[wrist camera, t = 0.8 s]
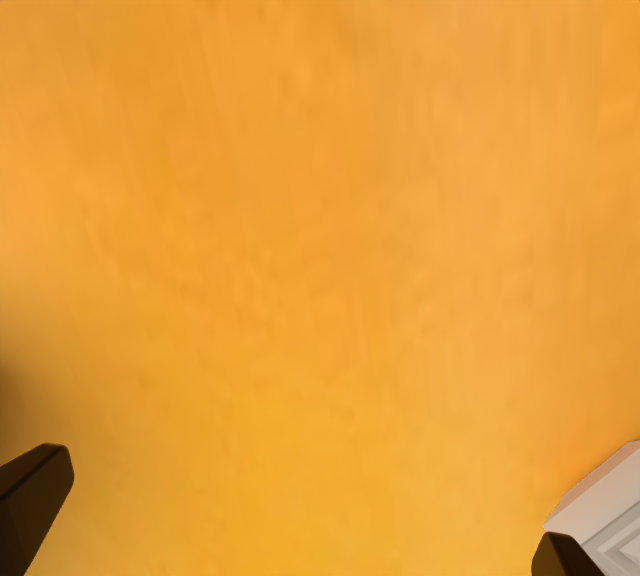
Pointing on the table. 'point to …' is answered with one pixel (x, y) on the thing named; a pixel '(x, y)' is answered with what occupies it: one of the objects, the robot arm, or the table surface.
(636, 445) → the stamp
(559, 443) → the table surface
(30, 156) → the table surface
